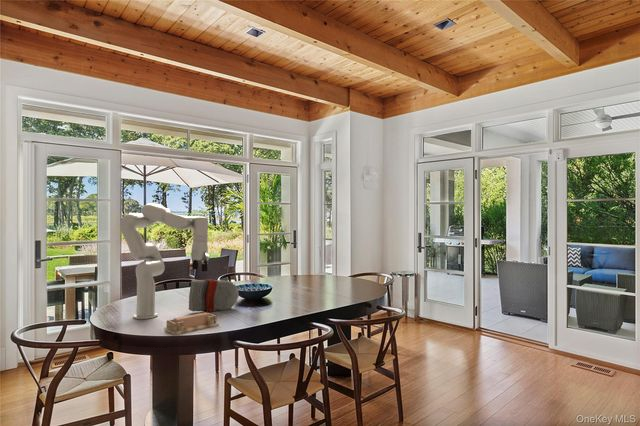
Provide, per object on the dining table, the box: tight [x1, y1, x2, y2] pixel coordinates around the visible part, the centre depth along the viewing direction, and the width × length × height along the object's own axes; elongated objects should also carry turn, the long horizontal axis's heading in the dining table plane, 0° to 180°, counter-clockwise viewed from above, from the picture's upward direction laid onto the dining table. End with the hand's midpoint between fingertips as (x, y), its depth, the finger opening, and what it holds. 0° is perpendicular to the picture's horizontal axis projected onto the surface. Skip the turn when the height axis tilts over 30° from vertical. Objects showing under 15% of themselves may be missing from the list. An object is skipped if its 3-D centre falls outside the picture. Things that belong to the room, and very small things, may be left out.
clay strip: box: [173, 312, 210, 328], centre depth 204 cm, size 18×4×5 cm, turn 137°
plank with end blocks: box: [164, 312, 220, 336], centre depth 204 cm, size 24×12×5 cm, turn 137°
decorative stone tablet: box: [188, 278, 240, 313], centre depth 241 cm, size 19×6×30 cm
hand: (199, 270), depth 215 cm, fingers open, 9 cm apart
